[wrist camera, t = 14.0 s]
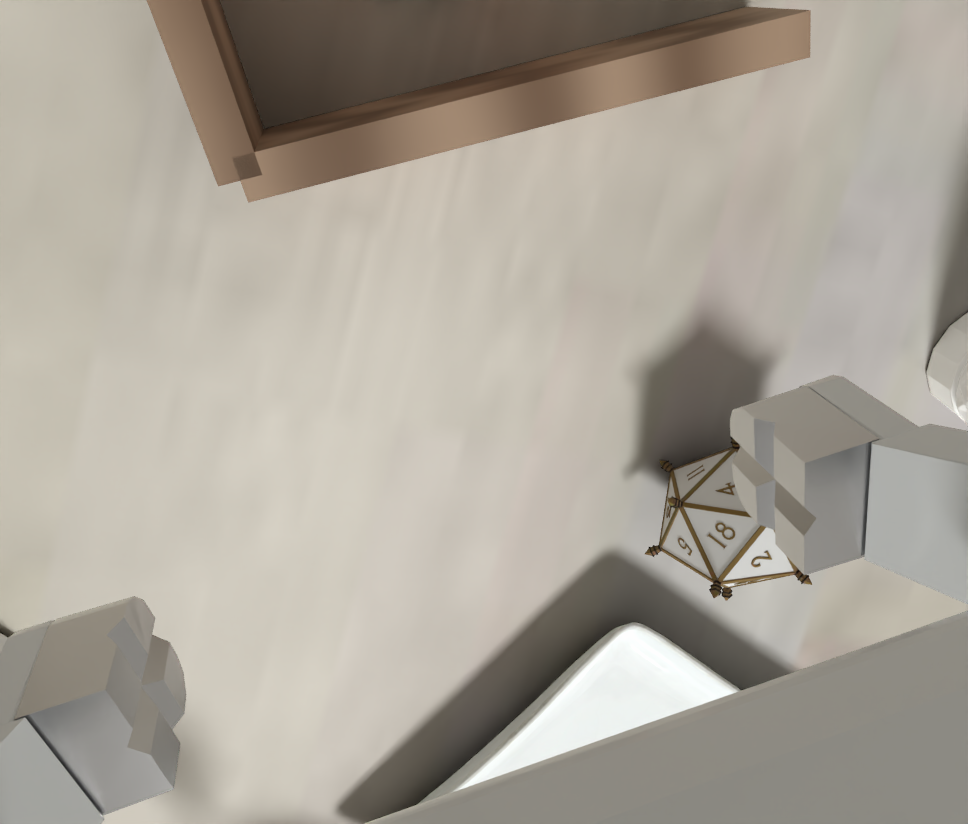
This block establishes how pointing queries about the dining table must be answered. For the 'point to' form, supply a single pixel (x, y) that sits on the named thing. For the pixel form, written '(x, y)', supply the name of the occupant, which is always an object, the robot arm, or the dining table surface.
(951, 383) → the white cup
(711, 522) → the game die
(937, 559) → the robot arm
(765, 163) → the dining table surface
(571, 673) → the square plate
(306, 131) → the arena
